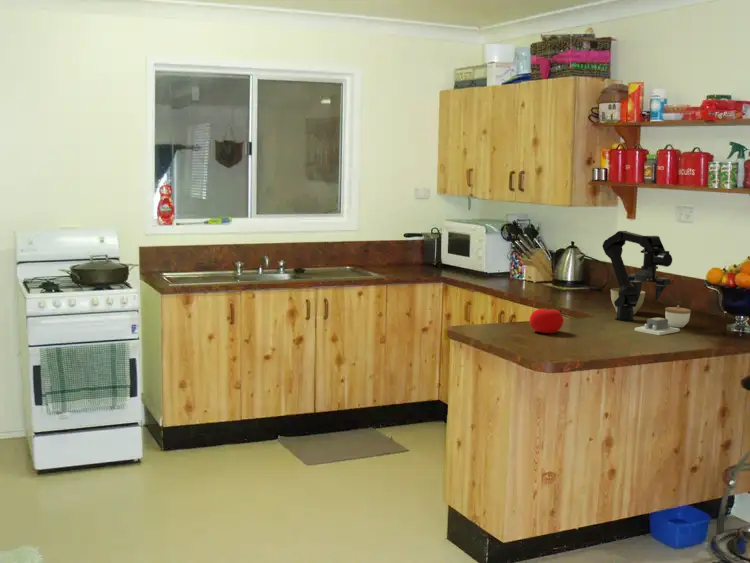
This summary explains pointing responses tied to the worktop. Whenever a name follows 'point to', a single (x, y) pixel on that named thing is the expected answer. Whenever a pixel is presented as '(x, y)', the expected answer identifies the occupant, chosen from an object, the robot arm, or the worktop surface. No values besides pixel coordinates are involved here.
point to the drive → (657, 323)
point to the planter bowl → (615, 295)
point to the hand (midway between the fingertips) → (647, 298)
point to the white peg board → (657, 332)
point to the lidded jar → (677, 316)
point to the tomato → (546, 320)
